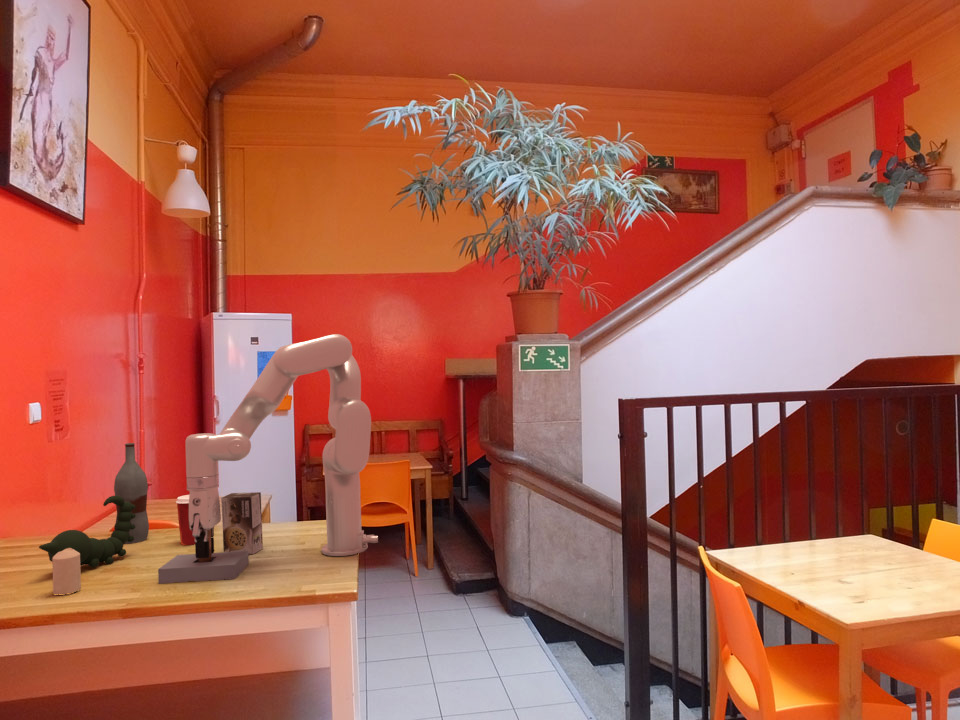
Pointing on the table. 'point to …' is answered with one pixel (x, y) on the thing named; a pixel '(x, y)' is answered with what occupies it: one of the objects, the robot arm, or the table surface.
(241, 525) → the coffee box
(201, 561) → the walnut peg
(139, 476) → the bottle
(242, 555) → the hole block
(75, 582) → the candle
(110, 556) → the toy figurine
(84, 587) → the table surface
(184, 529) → the paper cup
